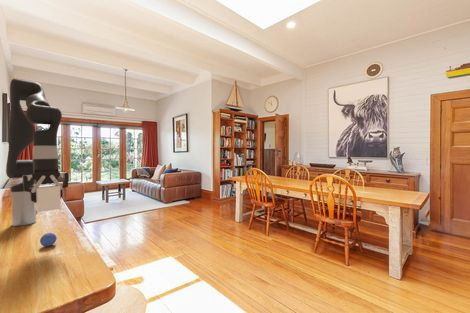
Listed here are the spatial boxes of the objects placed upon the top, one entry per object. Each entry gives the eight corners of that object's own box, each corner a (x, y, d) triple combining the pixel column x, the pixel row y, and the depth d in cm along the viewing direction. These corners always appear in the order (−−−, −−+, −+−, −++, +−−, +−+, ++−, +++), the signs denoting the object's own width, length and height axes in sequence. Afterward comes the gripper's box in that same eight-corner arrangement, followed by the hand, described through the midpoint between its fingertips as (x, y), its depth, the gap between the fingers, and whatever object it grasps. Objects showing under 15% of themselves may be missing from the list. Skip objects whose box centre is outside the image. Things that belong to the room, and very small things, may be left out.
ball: (41, 249, 86) (38, 246, 89) (58, 245, 89) (55, 242, 93) (41, 236, 85) (38, 233, 89) (57, 232, 89) (54, 230, 93)
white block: (34, 209, 89) (33, 186, 88) (56, 206, 94) (55, 184, 93) (37, 212, 84) (37, 188, 84) (60, 208, 89) (60, 186, 89)
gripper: (65, 157, 96) (66, 196, 97) (19, 158, 86) (20, 202, 86) (70, 157, 92) (72, 198, 92) (22, 158, 81) (23, 205, 81)
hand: (47, 200), depth 89 cm, fingers closed on white block, 7 cm apart
